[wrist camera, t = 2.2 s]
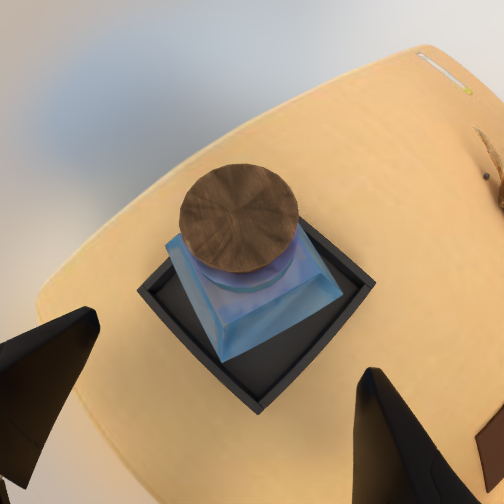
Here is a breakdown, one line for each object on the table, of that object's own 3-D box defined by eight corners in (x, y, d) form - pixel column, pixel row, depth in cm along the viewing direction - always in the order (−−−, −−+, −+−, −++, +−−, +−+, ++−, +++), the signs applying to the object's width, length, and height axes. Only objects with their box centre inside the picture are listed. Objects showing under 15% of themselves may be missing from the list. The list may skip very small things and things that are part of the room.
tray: (258, 408, 17) (258, 415, 15) (147, 295, 20) (136, 290, 18) (367, 288, 19) (377, 282, 17) (253, 192, 22) (252, 178, 20)
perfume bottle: (319, 310, 18) (397, 255, 7) (236, 356, 17) (183, 378, 6) (273, 233, 20) (277, 103, 9) (194, 275, 19) (107, 184, 8)
